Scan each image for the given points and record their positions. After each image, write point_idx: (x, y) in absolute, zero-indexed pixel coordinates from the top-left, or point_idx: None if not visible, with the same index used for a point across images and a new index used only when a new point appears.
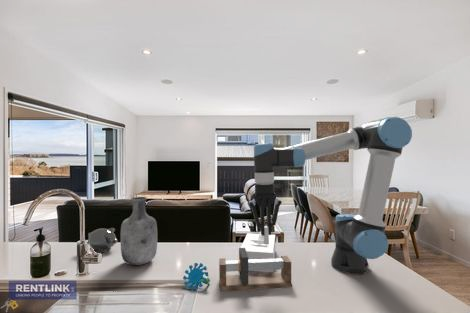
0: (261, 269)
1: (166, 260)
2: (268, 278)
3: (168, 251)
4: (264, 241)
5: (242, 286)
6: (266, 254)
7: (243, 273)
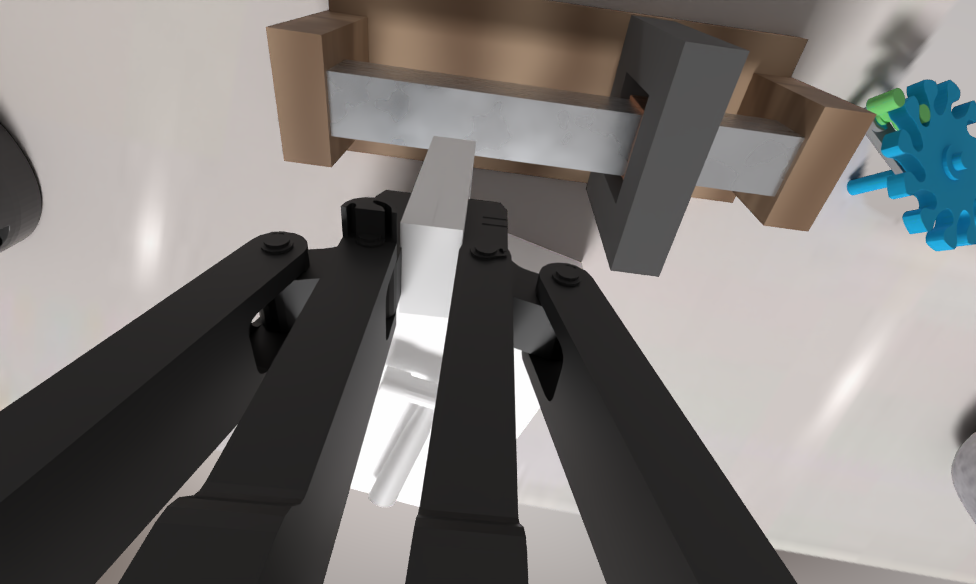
0: (517, 85)
1: (886, 423)
2: None
3: (830, 490)
4: (471, 181)
5: None
6: None
7: (686, 28)
